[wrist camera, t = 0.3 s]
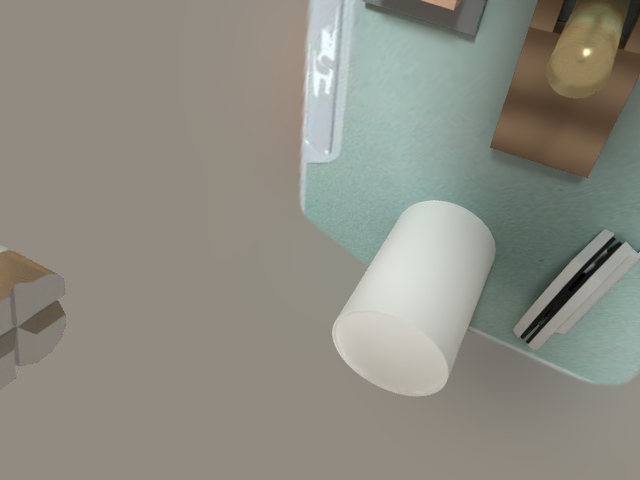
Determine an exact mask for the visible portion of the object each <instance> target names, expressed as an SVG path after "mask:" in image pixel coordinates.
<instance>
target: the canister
mask: <svg viewBox="0 0 640 480" xmlns="http://www.w3.org/2000/svg"><path fill="white" fill-rule="evenodd" d="M495 255H496V246H495V241H494V238H493V236H492V234H491V232H490V230H489V229H488V227H487V226H486V225H485V224H484V222H483V221H482V220H481V219H480V218H478V217H477V216H476V215H475V214H473V213H472V212H470V211H469V210H467V209H465V208H463V207H461V206H459V205H456V204H453V203H450V202H445V201H436V200H432V201H423V202H419V203H416V204H414V205H412V206H410V207H409V208H407V209H406V210H405V211H404V212H403V213H402V214H401V216H400V217H399V219H398V221H397V222H396V224H395V225H394V227H393V229H392V230H391V232H390V234H389V235H388V237H387V238H386V240H385V242H384V243H383V245H382V247H381V248H380V250H379V251H378V253H377V255H376V256H375V258H374V260H373V261H372V263H371V264H370V266H369V268H368V269H367V271H366V273H365V274H364V276H363V277H362V279H361V281H360V282H359V284H358V286H357V287H356V289H355V290H354V292H353V294H352V295H351V297H350V299H349V300H348V302H347V303H346V305H345V307H344V308H343V310H342V312H341V313H340V315H339V316H338V318H337V320H336V321H335V323H334V325H333V329H332V335H333V341H334V344H335V347H336V349H337V351H338V352H339V354H340V355H341V357H342V358H343V359H344V361H345V362H346V363H347V364H348V365H349V366H350V367H351V368H352V369H353V370H354V371H356V372H357V373H358V374H359V375H360V376H362V377H363V378H365V379H366V380H368V381H369V382H371V383H373V384H375V385H377V386H379V387H381V388H383V389H386V390H388V391H391V392H394V393H398V394H402V395H408V396H425V395H430V394H433V393H435V392H437V391H439V390H440V389H442V387H444V385H445V384H446V382H447V379H448V377H449V374H450V372H451V369H452V366H453V364H454V361H455V359H456V356H457V354H458V351H459V349H460V346H461V344H462V341H463V338H464V336H465V333H466V331H467V328H468V326H469V323H470V321H471V318H472V316H473V313H474V310H475V308H476V305H477V303H478V300H479V298H480V295H481V293H482V290H483V288H484V285H485V282H486V280H487V277H488V275H489V272H490V270H491V267H492V265H493V262H494V259H495Z"/></svg>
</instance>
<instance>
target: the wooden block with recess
mask: <svg viewBox="0 0 640 480" xmlns="http://www.w3.org/2000/svg"><path fill="white" fill-rule="evenodd" d="M564 3H565V0H538V3H537V6H536V9H535V12H534V15H533V18H532V21H531V24H530V27H529V30H528V33H527V36H526V39H525V42H524V45H523V48H522V51H521V54H520V57H519V60H518V64H517V67H516V70H515V73H514V76H513V79H512V82H511V85H510V88H509V91H508V94H507V97H506V100H505V103H504V106H503V109H502V112H501V115H500V118H499V121H498V124H497V128H496V131H495V134H494V137H493V140H492V143H491V146H490V148H493V149H497V150H500V151H503V152H506V153H509V154H513V155H516V156H519V157H522V158H525V159H528V160H532V161H535V162H538V163H541V164H544V165H548V166H551V167H554V168H557V169H560V170H563V171H567V172H570V173H573V174H576V175H579V176H583V177H586V178H588V176H589V174H590V172H591V170H592V168H593V166H594V164H595V162H596V160H597V158H598V156H599V154H600V152H601V150H602V148H603V146H604V144H605V142H606V140H607V138H608V136H609V134H610V132H611V130H612V128H613V126H614V124H615V122H616V120H617V118H618V116H619V114H620V112H621V110H622V108H623V106H624V104H625V102H626V100H627V98H628V96H629V94H630V92H631V90H632V88H633V86H634V84H635V82H636V80H637V78H638V76H639V74H640V10H639V12H638V14H637V16H636V18H635V20H634V23H633V25H632V27H631V29H630V31H629V33H628V36H627V37H626V36H622V35H621V37H620V41H619V45H618V48H617V52H616V56H615V59H614V63H613V67H612V70H611V74H610V77H609V79H608V81H607V83H606V84H605V86H604V87H603V88H602V89H601V90H599V91H598V92H597V93H595V94H593V95H591V96H588V97H585V98H578V99H574V98H568V97H565V96H562V95H560V94H558V93H557V92H556V91H554V90H553V88H552V87H551V86H550V84H549V82H548V80H547V75H546V69H547V65H548V62H549V60H550V57H551V55H552V53H553V51H554V49H555V47H556V44H557V42H558V40H559V38H560V36H561V34H562V32H563V29H564V27H565V25H566V23H567V22H563V21H559V20H558V19H559V17H560V14H561V11H562V8H563V6H564Z"/></svg>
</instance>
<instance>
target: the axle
mask: <svg viewBox="0 0 640 480" xmlns="http://www.w3.org/2000/svg"><path fill="white" fill-rule="evenodd" d="M629 4H630V0H577V1H576V3H575V6H574V8H573V10H572V12H571V14H570V16H569V19H568V21H567V23H566V25H565V27H564V29H563V32H562V34H561V36H560V38H559V40H558V42H557V44H556V47H555V49H554V51H553V53H552V55H551V57H550V60H549V62H548V65H547V69H546V75H547V80H548V82H549V84H550V86H551V87H552V88H553V90H554V91H556V92H557V93H558V94H560V95H562V96H565V97H568V98H574V99H578V98H585V97H588V96H591V95H593V94H595V93H597V92H598V91H599V90H601V89H602V88H603V87H604V86H605V84H606V83H607V81H608V79H609V77H610V74H611V70H612V67H613V63H614V59H615V56H616V52H617V48H618V45H619V41H620V37H621V33H622V30H623V26H624V22H625V19H626V15H627V11H628V8H629Z"/></svg>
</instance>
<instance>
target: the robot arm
mask: <svg viewBox="0 0 640 480" xmlns="http://www.w3.org/2000/svg"><path fill="white" fill-rule="evenodd" d="M64 295H65V283H64V278H62V277H61V276H60V275H58V274H57V273H55V272H53V271H51V270H49V269H47V268H45V267H44V266H42V265H40V264H38V263H36V262H34V261H32V260H30V259H28V258H26V257H24V256H22V255H20V254H18V253H16V252H15V251H12V250H10V249H8V248H6V247H4V246H2V245H0V389H2V388H3V387H5V386H6V385H7V384H9V383H10V382H12V381H13V380H14V379H16V377H17V374H18V370H19V367H20V366H24V365H28V364H33V363H37V362H39V361H40V360H41V359H43V358H44V357H45V356H47V355H48V354H49V353H51V352H52V350H53V349H54V348H55V346H56V345H57V344H58V342H59V341H60V339H61V338H62V335H63V332H64V329H65V326H66V314H65V312H64V311H63V308H62V307H61V305H60V303H59V300H60V299H61V298H62V297H63V296H64Z"/></svg>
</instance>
